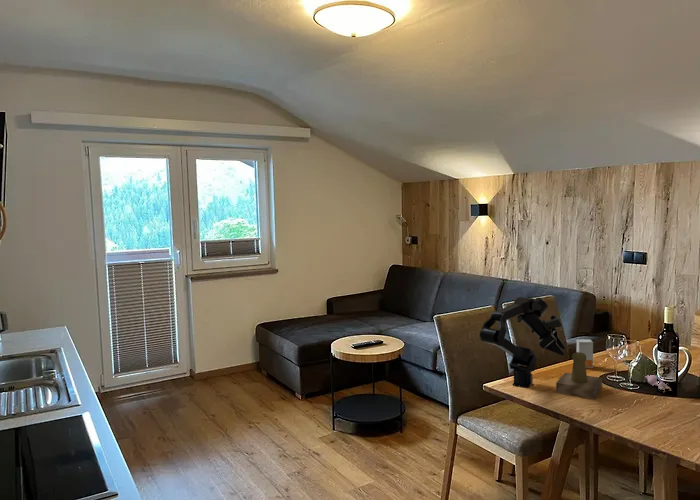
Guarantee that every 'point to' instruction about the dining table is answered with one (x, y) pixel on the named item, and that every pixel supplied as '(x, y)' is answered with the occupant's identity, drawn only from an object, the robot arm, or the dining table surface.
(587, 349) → the skincare box
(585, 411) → the dining table surface
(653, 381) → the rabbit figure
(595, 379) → the walnut plinth
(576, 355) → the cork
